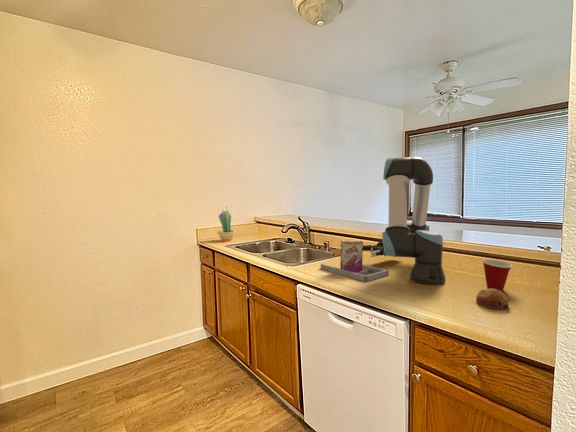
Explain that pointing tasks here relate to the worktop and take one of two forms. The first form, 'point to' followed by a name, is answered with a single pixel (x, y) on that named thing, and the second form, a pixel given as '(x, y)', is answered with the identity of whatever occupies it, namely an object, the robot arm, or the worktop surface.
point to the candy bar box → (351, 255)
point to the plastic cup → (496, 273)
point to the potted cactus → (226, 227)
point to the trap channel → (365, 275)
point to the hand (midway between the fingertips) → (361, 252)
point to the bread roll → (492, 299)
